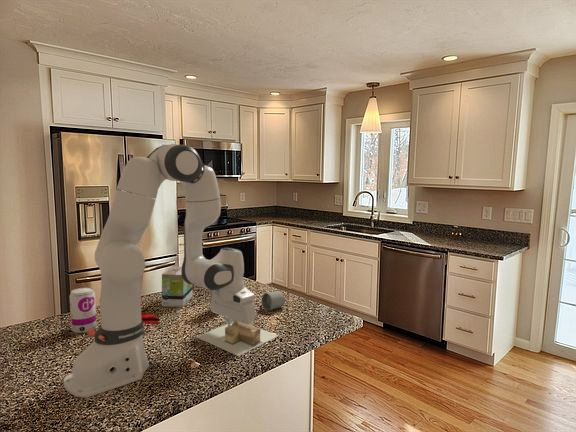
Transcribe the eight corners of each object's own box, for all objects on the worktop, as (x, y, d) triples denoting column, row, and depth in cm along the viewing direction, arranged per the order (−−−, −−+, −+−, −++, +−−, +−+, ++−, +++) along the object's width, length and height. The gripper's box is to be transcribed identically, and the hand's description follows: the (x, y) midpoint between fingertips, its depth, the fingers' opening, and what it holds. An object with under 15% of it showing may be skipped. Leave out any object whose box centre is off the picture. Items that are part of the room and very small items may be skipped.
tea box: (184, 307, 164) (183, 274, 163) (161, 307, 165) (160, 274, 163) (193, 296, 179) (192, 266, 178) (172, 296, 179) (171, 265, 178)
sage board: (238, 357, 120) (238, 355, 120) (195, 338, 133) (195, 336, 133) (279, 336, 135) (279, 335, 135) (236, 321, 149) (236, 320, 149)
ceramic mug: (286, 308, 164) (286, 291, 163) (271, 313, 158) (271, 295, 158) (270, 302, 172) (270, 286, 171) (256, 306, 166) (256, 289, 165)
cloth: (112, 313, 159) (112, 307, 158) (145, 306, 167) (145, 301, 167) (131, 333, 139) (131, 327, 138) (167, 324, 147) (167, 318, 147)
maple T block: (245, 348, 125) (245, 335, 124) (225, 340, 131) (225, 327, 130) (267, 337, 133) (267, 325, 133) (247, 330, 139) (247, 318, 139)
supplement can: (99, 329, 140) (98, 290, 139) (75, 335, 134) (73, 295, 133) (91, 323, 146) (89, 285, 144) (68, 329, 140) (66, 290, 138)
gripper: (206, 288, 138) (206, 324, 140) (245, 300, 126) (245, 339, 127) (219, 284, 143) (219, 319, 145) (258, 295, 131) (258, 333, 132)
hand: (232, 329), depth 136 cm, fingers closed
